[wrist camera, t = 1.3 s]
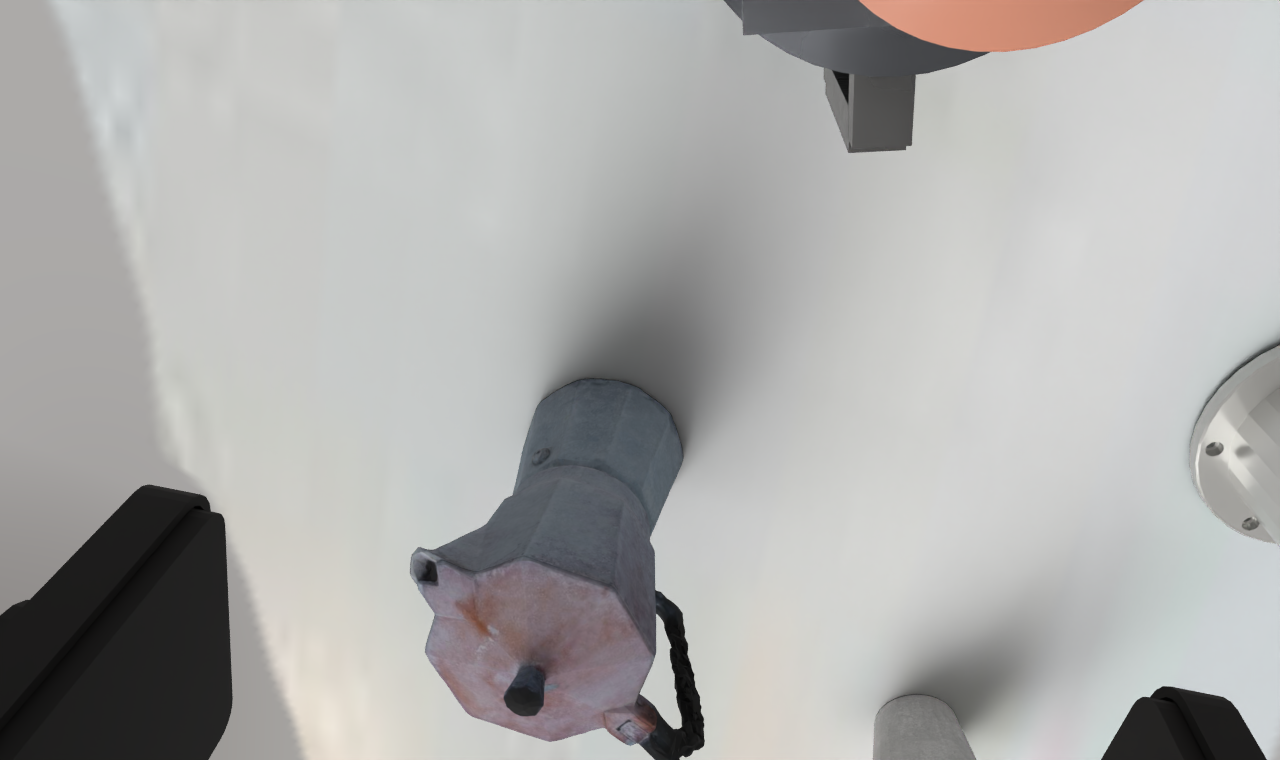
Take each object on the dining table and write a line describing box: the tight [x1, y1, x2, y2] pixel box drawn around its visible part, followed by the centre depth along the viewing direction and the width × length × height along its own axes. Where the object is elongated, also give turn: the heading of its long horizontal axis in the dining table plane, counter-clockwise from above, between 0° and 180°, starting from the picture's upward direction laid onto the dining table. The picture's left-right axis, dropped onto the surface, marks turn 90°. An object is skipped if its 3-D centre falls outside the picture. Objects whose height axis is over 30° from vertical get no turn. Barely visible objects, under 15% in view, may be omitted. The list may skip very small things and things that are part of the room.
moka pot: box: [410, 378, 705, 760], centre depth 46 cm, size 10×15×20 cm, turn 54°
